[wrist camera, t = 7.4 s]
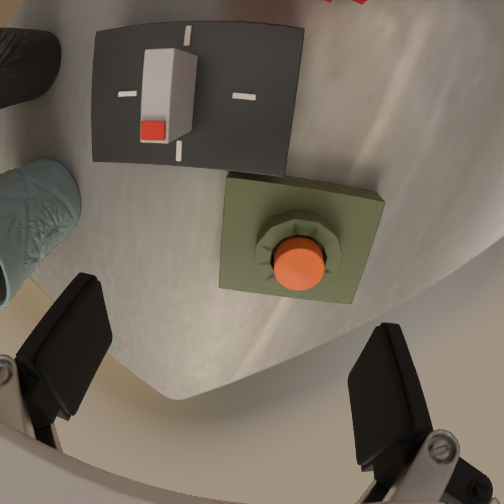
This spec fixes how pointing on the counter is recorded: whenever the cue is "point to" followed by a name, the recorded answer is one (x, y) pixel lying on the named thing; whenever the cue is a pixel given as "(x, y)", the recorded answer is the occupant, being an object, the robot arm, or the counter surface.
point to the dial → (167, 94)
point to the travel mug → (26, 64)
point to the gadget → (202, 94)
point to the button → (298, 263)
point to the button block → (296, 232)
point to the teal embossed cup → (33, 219)
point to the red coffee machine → (359, 0)
